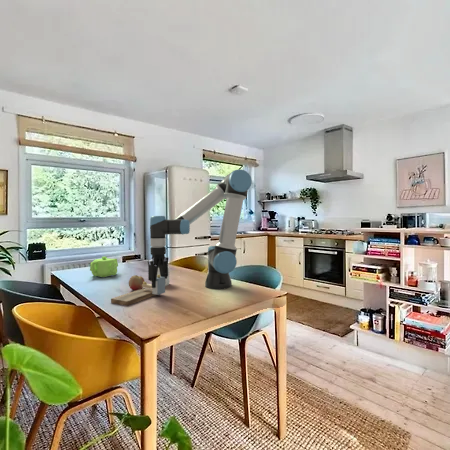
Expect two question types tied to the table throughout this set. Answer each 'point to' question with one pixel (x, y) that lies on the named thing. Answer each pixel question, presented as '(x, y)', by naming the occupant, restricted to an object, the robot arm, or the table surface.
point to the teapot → (104, 267)
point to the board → (133, 297)
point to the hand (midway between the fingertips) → (158, 292)
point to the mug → (165, 279)
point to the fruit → (136, 282)
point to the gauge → (160, 284)
